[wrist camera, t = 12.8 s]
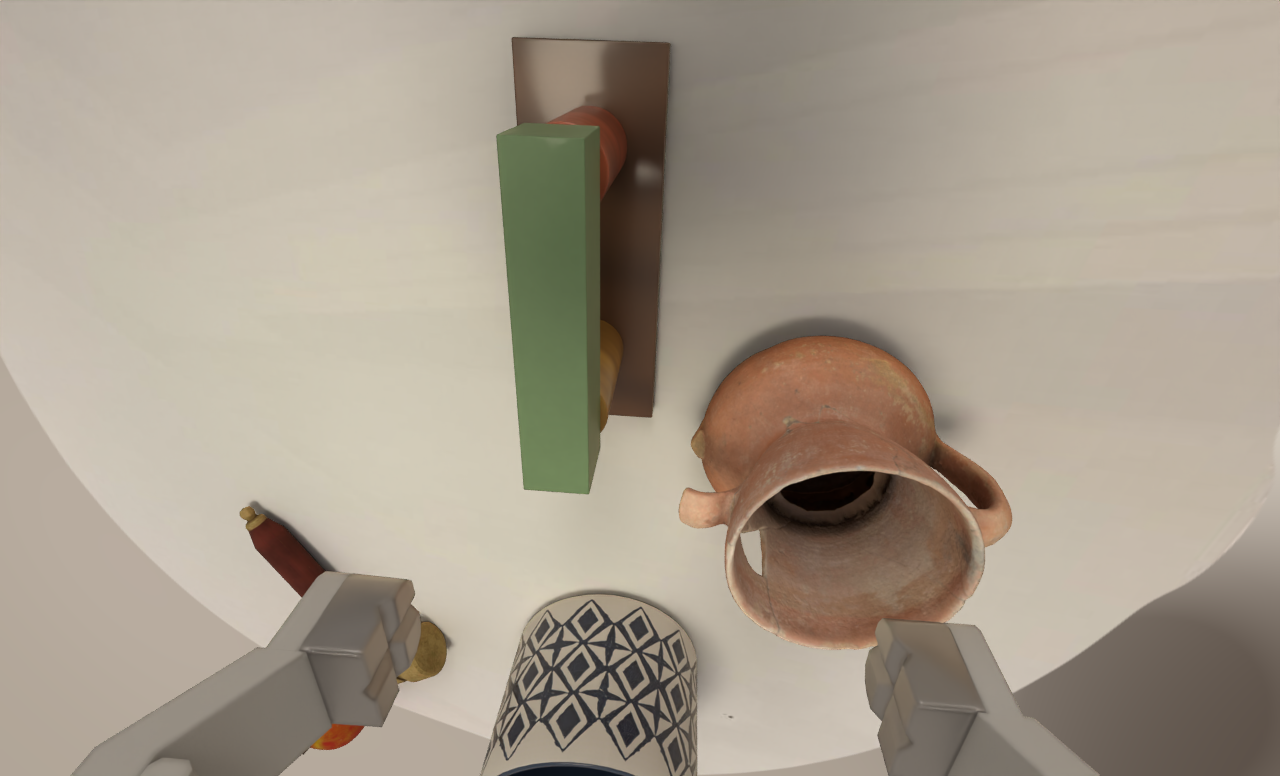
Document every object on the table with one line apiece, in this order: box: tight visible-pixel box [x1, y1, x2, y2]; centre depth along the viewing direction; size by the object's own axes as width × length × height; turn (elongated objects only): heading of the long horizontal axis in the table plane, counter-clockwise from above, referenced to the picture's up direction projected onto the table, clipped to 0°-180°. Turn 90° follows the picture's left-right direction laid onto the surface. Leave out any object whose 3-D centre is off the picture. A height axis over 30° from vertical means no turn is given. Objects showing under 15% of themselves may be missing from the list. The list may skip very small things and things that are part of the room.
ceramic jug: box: [679, 336, 1012, 650], centre depth 36 cm, size 18×14×14 cm
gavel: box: [240, 506, 447, 684], centre depth 53 cm, size 21×5×10 cm
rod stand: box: [512, 37, 671, 433], centre depth 33 cm, size 22×8×10 cm, turn 178°
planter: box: [480, 594, 697, 776], centre depth 49 cm, size 16×16×14 cm
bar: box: [496, 123, 600, 494], centre depth 27 cm, size 16×3×4 cm, turn 178°
